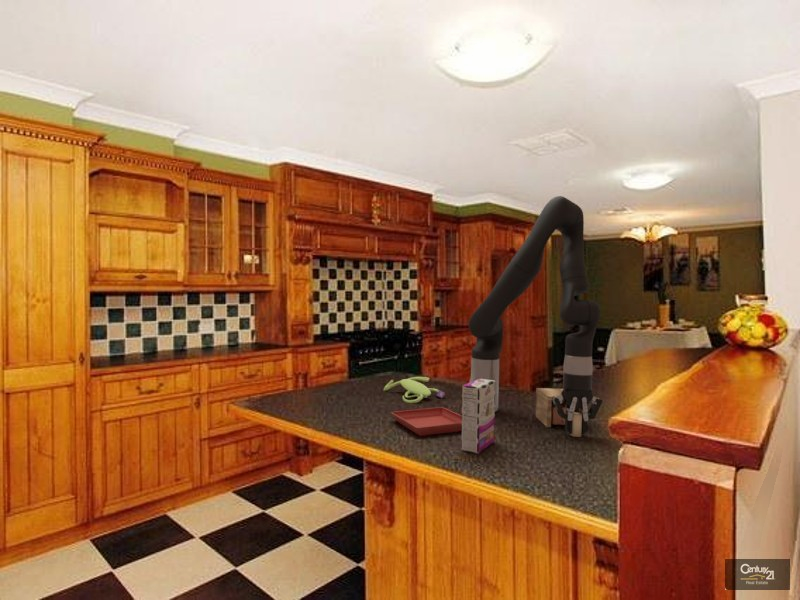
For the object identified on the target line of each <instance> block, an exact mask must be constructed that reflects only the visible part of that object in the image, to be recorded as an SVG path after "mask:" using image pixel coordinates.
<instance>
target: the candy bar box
mask: <svg viewBox="0 0 800 600" xmlns="http://www.w3.org/2000/svg"><path fill="white" fill-rule="evenodd" d="M495 412H496V411H495V381H494V380H488V379H477V380H475V381H472V382H470V381H469V382H468V383H465V384H463V385H461V416H462V430H461V431H460V432H461V433H460V434H461V435H460V436H461V438H460V439H461V443H460V445H461V447H460V449H461V451H462V452H463V451H464V452H466V453H467V452H468V453H471V454H477V455H478V454H480V453H482V452H483V451H484V450H485V449H488V447H490V446H491V445H492V444H494V442H495V426H496V425H495V417H496V414H495Z"/></svg>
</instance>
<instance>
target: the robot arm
mask: <svg viewBox="0 0 800 600" xmlns="http://www.w3.org/2000/svg"><path fill="white" fill-rule="evenodd" d="M584 220H585V219H584V212H583V209H582V208H581V207H580V206H579V205H578V204H576V203H574V202H573V201H571V200H570V199H568V198H566V197H565V196H562V195H558V196H554V197H553V198H551V199H550V200H549V201H548V202H547V203H546V204H545V206H544V207H543V209H542V210H541V211H540V213H539V216H538V217H537V219H536V221H535V223H534V225H533V226H532V229H531V230H530V232H529V234H528V235H527V237H526V238H525V240H524V241H523V243H522V244H521V246H520V247H519V249H518V251H517V252H516V253H515V255H514V256H513V257H512V258H511V260H510V262H509V263H508V265H507V266H506V268H504V271H503V272H502V274H501V275H500V277H499V278H498V280H497V281H496V283H495V285H494V286H493V287H492V289H491V291H490V292H489V294H488V295H487V297H486V298H485V299H484V300H483V301H482V303H481V304H479V306H478V307H477V309H476V310H474V312H473V313H472V315H470V317H469V321H468V329H469V332H470V334H471V335H472V336H473V337H475V338H476V342H475V345H474V347H472V349H471V357H470V358H471V361H470V362H471V365H470V378H469V383H470V382H472V381H475V380H477V379H488V380H494V381H495V412H497V411H498V410H499V388H500V387H499V386H500V385H499V384H500V383H499V381H500V356H501V355H500V354H501V352H502V348H503V347H502V346H503V339H504V338H503V335H504V321H503V318H502V315H503V313H504V312H505V311H506V309H507V308H508V307H509V306H510V305H511V304H512V303H514V301H516V300H517V299H518V298H520V296H522V295H523V294H524V292H526V291H527V290H528V288H529V287H530V286H531V284H532V283H533V282H534V280H535V279H536V278H537V276H538V275H539V273H540V271H541V269H542V264H543V259H544V254H545V248H546V246H547V243H548V241H549V239H551V237H552V235H553V233H554V232H555V231H558V232H560V235H561V237H562V242H563V246H564V247H563V252H562V256H561V258H560V263H559V273H560V274H559V275H560V280H561V281H560V282H561V289H562V290H561V300H560V301H561V302H560V306H559V318H560V320H561V321H562V322H563V323H564V324H565V325H566V326H581V328H580V330H579V331H577V332H574V333H569V334H567V335H566V336H565V343H564V345H565V348H564V360H563V367H562V370H563V374H562V375H563V377H562V381H563V382H562V389H563V391H562V393H561V395H559V396H557V397H555V396H553V397H552V400H553V403H554V405H555V407H556V410H557V412H558V415H559V416H560V417H562V418H564V419H565V425H564V430H565V431H566V432H567V433H566V434H568V435H570V434H572V416H573V413H574V410H575V409H576V408H579V411H580V413H581V414H582V433H581V435H585V434H586V433H587V432H588V421H590V420H594V419H595V418H596V417H597V416H596V415H597V414H598V412H599V410H600V408H601V405H602V403H603V400H602V399H601V398H599V397H598V396H597V397H596V396H594V393H593V391H592V390H593V370H594V369H593V367H594V366H593V343H594V342H593V341H594V337H595V335H596V331H597V327H598V324H599V322H600V318H601V308H600V305H599V304H598V302H597V301H595V300H594V299H593V300H592V299H575V296H580V295H584V294H585V293H587V292H588V291H589V289H590V288H589V287H590V286H589V279H588V273H587V268H586V262H585V253H584V252H585V251H584V248H585V247H584V244H585V243H584V232H585V231H584V227H585V226H584V222H585V221H584ZM562 399H564V401H565V402H566V412H565V413H564V411H563V408H562V406H561V403H562ZM590 402H591V405H590V407H589V410H588V405H589V403H590Z"/></svg>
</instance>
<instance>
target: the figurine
mask: <svg viewBox="0 0 800 600" xmlns="http://www.w3.org/2000/svg"><path fill="white" fill-rule="evenodd" d="M418 381H419V382H418ZM429 381H430V377H427V376H415V377H414V376H413V377H409V378H405V379H404V378H403V379H401V380H398V381H396V382H394V379H391V380H390V381H389V382H388V383H386V385H385V386H384V387H383V391H388V390H390V389H392V388H393V387H396V386H399V385H401V386H402V387H403V388H404V389H405V390H407V391H406V392H405V393H404V395H402V401H403V402H404V403H407V404H416V403H419V402H420V401H422V400H423V399H427V398H428V397H429V396H431V395H432V392H436V394H435V396H437V397H438V398H440V399H443V398H444V396H445V395H446V393H445V392H444V391H443V390H441V389H439V388H434V387H433V388H431V387H427V386H426V385H425V384H423V383H428V382H429ZM421 382H423V383H421ZM410 394H412V395H410ZM414 397H417V398H416V399H410V398H414ZM406 398H407V399H406Z"/></svg>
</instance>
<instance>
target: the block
mask: <svg viewBox="0 0 800 600" xmlns="http://www.w3.org/2000/svg"><path fill="white" fill-rule="evenodd" d="M561 406H562V408H563V411H564V413H565V412H566V404H564V403H561ZM551 425H562V426H565V419H564V418H562V417H560V416H559V415H558V412H557V410H556V407H555V405H554V403H552V406H551ZM581 433H582V414H581V413H575V412H574V413H573V416H572V434H569V435H570V436H572V437H575V438H580V437H582V434H581Z"/></svg>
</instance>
